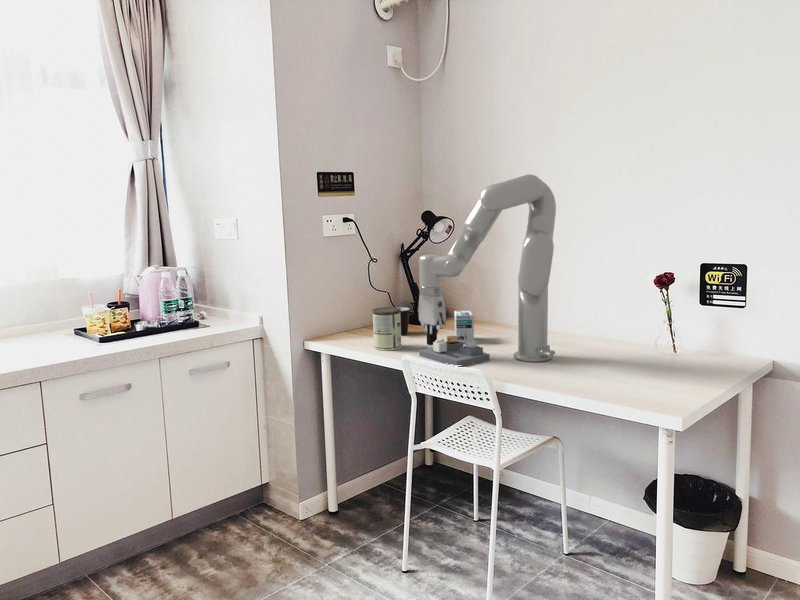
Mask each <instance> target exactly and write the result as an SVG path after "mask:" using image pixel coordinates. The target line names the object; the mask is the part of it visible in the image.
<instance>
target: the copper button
mask: <svg viewBox="0 0 800 600" xmlns="http://www.w3.org/2000/svg"><path fill="white" fill-rule="evenodd" d="M446 341H447V343H448V344H456V343H457V336H455V335H447V336H446Z"/></svg>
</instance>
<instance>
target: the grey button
mask: <svg viewBox="0 0 800 600" xmlns="http://www.w3.org/2000/svg"><path fill="white" fill-rule="evenodd" d="M477 343H478V342H477V340H475V339H474V340H469V341H466V344H465V346H466V348H467V349H476V348H477V346H478V344H477Z"/></svg>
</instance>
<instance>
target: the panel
mask: <svg viewBox="0 0 800 600" xmlns="http://www.w3.org/2000/svg"><path fill="white" fill-rule="evenodd" d="M445 342H447V340H446V341H445ZM418 352H419V353H418V354H419V355H418V356H419V357H422V358H425V359H428V360H432V361H435V362H438V363H441V362H443V363H442V364H445V363H448V364H453V365H463V366H462V367H465V366H469V364H470V365H473V363H474V364H479V363H483V362H488V361H490V354H489V353H486V352H484V347H482V346H479V345H477V348H476V349H467V348H466V345H465V346H464V344H463V342H459V341H457V343H456V344H448V343H447V351H444V352H436V351H433V347H430V348H424V349H419V351H418ZM448 364H447V365H448Z"/></svg>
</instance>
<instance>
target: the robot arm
mask: <svg viewBox="0 0 800 600" xmlns="http://www.w3.org/2000/svg"><path fill="white" fill-rule="evenodd" d="M524 204H525V205H526V204H527V206H528V218H527V227H526V232H525V237H524V240H523V242H522V249H521V250H522V251H521V258H520V265H519V272H518V276H517V277H518V278H517V284H518V313H517V314H518V315H517V316H518V322H517V323H518V326H517V327H518V333H517V334H518V336H517V337H518V351H515V352H514V353H513V359H515V360H517V361H522V362H529V363H531V362H532V363H533V362H534V363H538V362H547V361H550V360H552V359H553V357H554V356H555V354H556V351H555V350H552V349H551V346H550V344H548V332H549V331H548V326H549V321H548V317H549V315H548V313H549V283H550V275H551V270H552V265H553V255H554V248H555V244H554V240H553V239H554V231H555V222H556V213H557V204H556V198H555V196H554V194H553V191H552V190H551V188H550V187H549V185H548V184H547V183H545V181H543V180H542V179H540V177H538V176H537V175H535V174H525V175H521V176H517V177H514V178H511V179H508V180H505V181H501V182H498V183H492V184H489V185H487V186H486V187H484V188H483V189H482V191H481V193H480V196H479V198H478V199H477V202H476V203H475V205H474V206H473V208H472V209H471V210H470V213H469V215H468V216H467V217H466V219H465V220H464V223H463V224H462V228H461V230H460V232H459V235H458V237H457V239H456V240H455V242H454V244H453V246H452V247H451V249H450V251H449V252H448V253H447V255H442V256H441V255H438V254H424V255H421V256H420V257H419V259H418V273H419V274H418V277H419V279H418V281H419V296H418V297H419V298H418V308H417V309H418V321H419V322H420V325H421V326H422V327H424V330H425V331H424V332H425V333H426V344H427V346H433V342H435V340H438V333H439V330H443V328H444V327H443V325H446V324H447V314H446V312H447V311H446V303H445V298H444V295H443V283H442V280H443V278H456V277H458V276H460V275H461V273H462V272H463V271H464V270H465V269H466V267H467V265H468V263H469V262H470V260H471V259H472V257H473V256H474V254H475V252H476V251H477V249H478V248H479V246H480V245H481V243H482V242H483V241H484V240H485V239H486V237H487V236H488V234H489V232H490V231H491V229H492V227H493V226H494V224H495V223H496V221H497V219H498V218H499V216H500V215H501V213H502V211H504V210H507V209H510V208H514V207H518V206H521V205H524ZM442 277H443V278H442Z"/></svg>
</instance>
